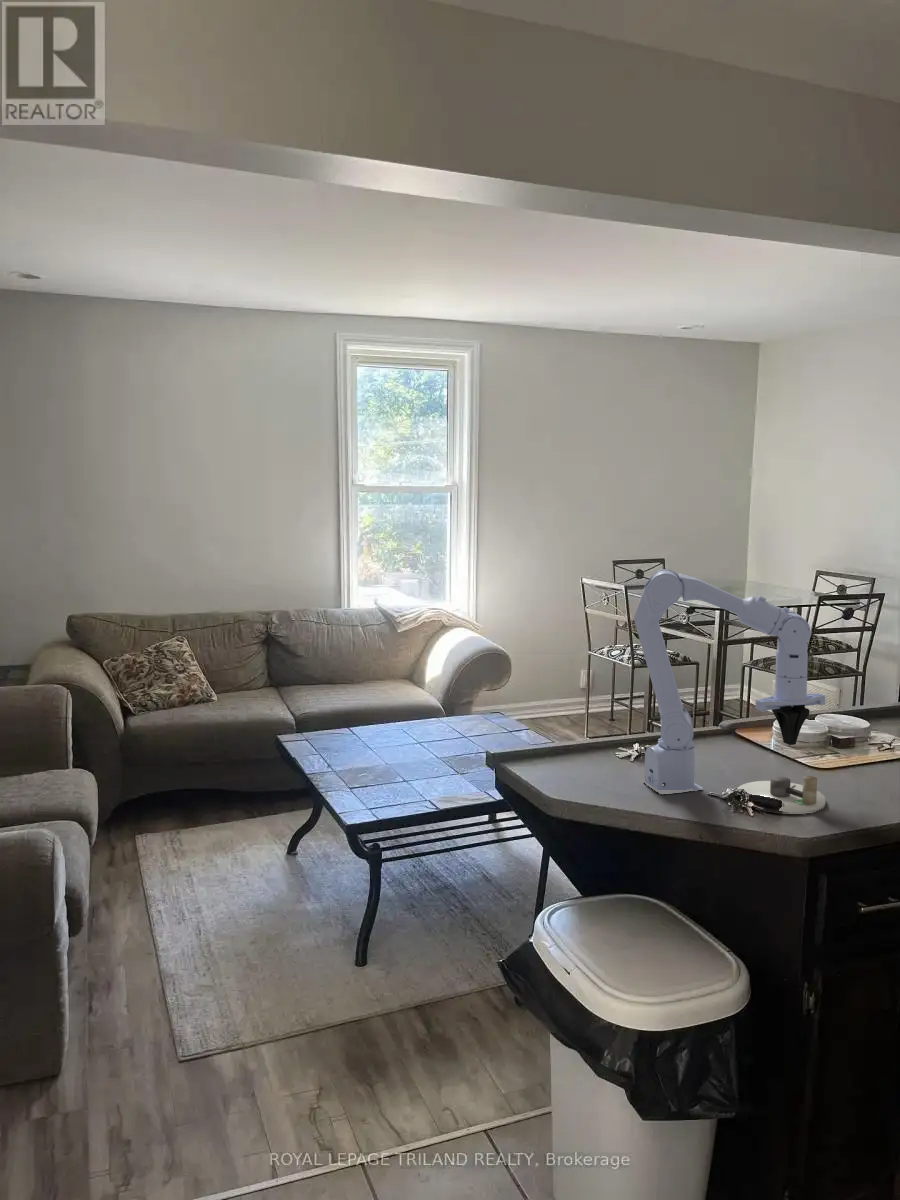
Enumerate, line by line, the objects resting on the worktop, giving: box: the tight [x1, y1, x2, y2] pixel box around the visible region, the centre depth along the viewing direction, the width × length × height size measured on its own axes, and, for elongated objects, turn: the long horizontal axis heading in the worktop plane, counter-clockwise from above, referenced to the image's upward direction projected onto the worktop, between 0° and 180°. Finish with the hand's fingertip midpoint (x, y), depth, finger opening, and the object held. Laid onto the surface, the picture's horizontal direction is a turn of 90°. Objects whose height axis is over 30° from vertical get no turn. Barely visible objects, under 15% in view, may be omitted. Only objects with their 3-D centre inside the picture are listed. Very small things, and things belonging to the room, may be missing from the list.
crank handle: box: [769, 775, 818, 804], centre depth 163 cm, size 10×4×5 cm, turn 30°
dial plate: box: [736, 780, 826, 813], centre depth 166 cm, size 16×16×1 cm
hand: (789, 743), depth 168 cm, fingers closed
